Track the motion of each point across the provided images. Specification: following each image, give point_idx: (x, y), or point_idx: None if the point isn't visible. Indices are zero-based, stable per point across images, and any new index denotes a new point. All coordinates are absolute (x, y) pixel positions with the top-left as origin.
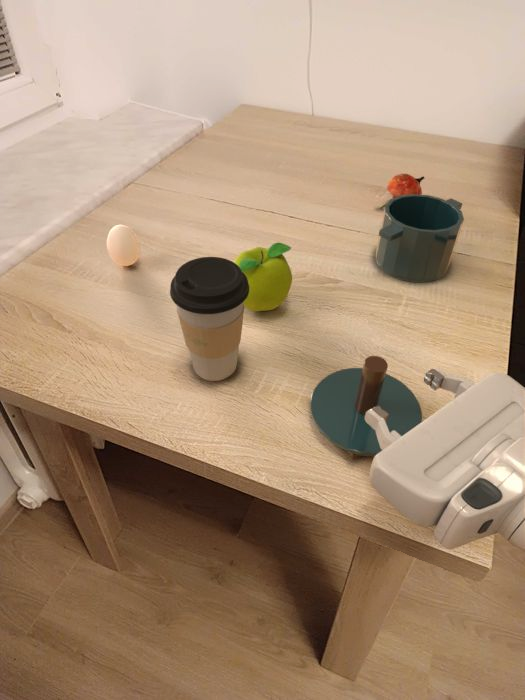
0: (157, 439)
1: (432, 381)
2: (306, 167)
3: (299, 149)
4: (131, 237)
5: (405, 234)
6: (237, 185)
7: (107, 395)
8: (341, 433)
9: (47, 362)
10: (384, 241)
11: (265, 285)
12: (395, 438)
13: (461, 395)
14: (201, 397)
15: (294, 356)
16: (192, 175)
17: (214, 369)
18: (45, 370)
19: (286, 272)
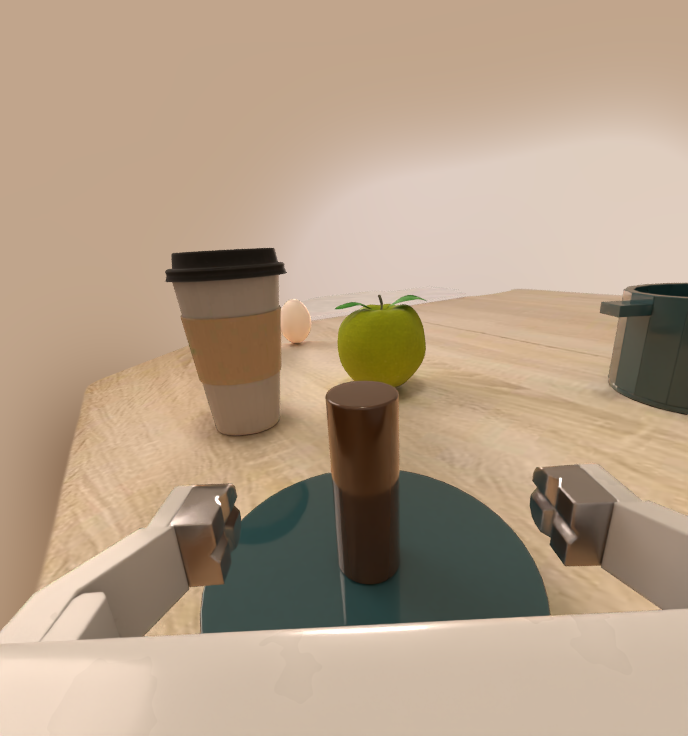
0: (69, 466)
1: (557, 516)
2: (557, 314)
3: (558, 306)
4: (298, 310)
5: (658, 310)
6: (463, 318)
7: (120, 412)
8: (240, 588)
9: (135, 379)
10: (620, 337)
11: (362, 333)
12: (32, 641)
13: (684, 615)
14: (183, 444)
15: None
16: (426, 311)
17: (216, 408)
18: (123, 383)
19: (403, 325)
